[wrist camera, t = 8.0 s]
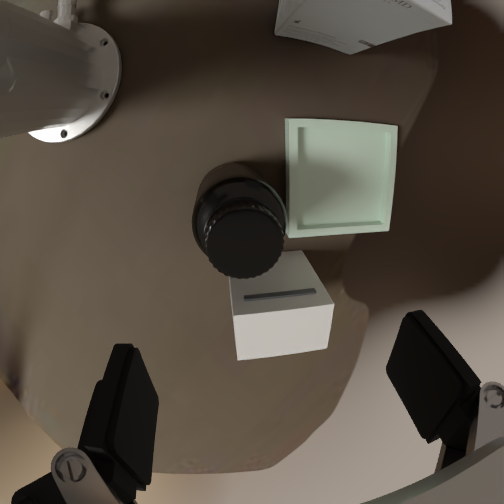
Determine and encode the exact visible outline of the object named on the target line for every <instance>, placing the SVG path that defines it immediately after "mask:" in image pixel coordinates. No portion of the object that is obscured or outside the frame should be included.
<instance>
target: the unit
mask: <svg viewBox="0 0 504 504" xmlns="http://www.w3.org/2000/svg"><path fill="white" fill-rule="evenodd" d="M229 283H230V294H231V304H232V314H233V323H234V332H235V341H236V350H237V359H238V360H246V359H255V358H264V357H272V356H280V355H287V354H294V353H301V352H307V351H314V350H320V349H325V348H327V346H328V340H329V334H330V328H331V322H332V315H333V309H334V303H333V301H332V299H331V298H330V296H329V294H328V292H327V291H326V289H325V287H324V286H323V284H322V282H321V281H320V279H319V277H318V276H317V274H316V272H315V271H314V269H313V268H312V266H311V264H310V263H309V261H308V259H307V258H306V256H305V255H304V253H303V251H302V250H298V251H286V252H281V256H280V257H279V259H278V262H277V263H275V264H274V266H273V267H272V268H270V269H269V271H268V272H266V273H263V274H262V275H261V276H256V277H255V278H249V279H237V278H231V277H230V276H229Z"/></svg>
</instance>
